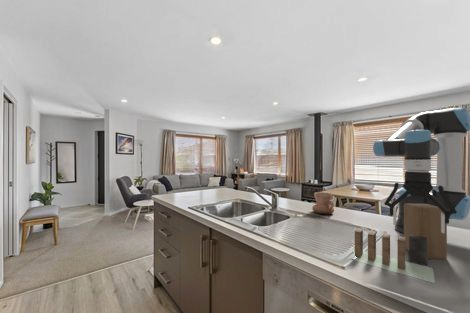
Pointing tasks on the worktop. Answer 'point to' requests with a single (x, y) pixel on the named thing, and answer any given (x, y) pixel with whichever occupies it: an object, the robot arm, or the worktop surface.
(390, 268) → the mat
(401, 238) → the domino
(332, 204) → the ceramic jug
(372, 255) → the domino
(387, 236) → the domino
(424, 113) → the robot arm
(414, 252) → the dark gray domino
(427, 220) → the block
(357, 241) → the domino end
